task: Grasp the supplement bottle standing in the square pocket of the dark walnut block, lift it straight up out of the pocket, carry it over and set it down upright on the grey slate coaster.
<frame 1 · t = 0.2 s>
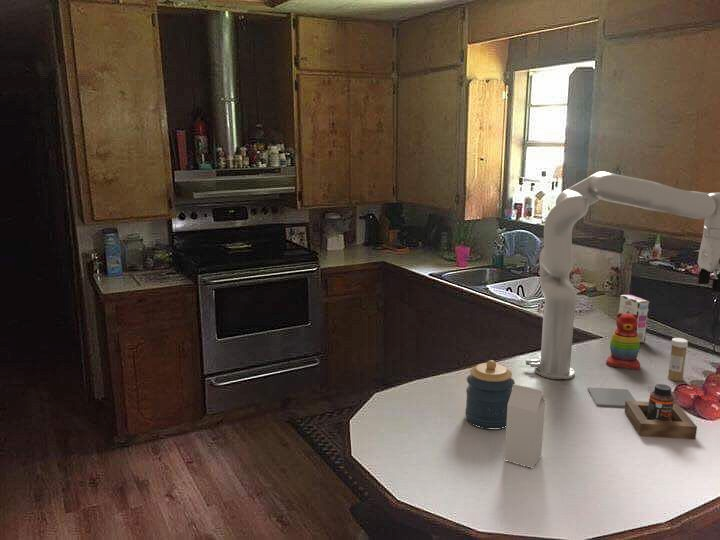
hand: (710, 287, 190), 31 cm above the counter, tool pointing down, fingers open, 9 cm apart
sprinkles bottle: (675, 379, 198), on the counter
supplement bottle: (658, 425, 168), resting in pocket block
canister: (488, 420, 171), on the counter
milk carton: (522, 459, 151), on the counter
candy bar box: (630, 339, 236), on the counter
stacking bear: (622, 363, 212), on the counter
pocket block: (658, 424, 168), on the counter
slate coaster: (612, 398, 184), on the counter
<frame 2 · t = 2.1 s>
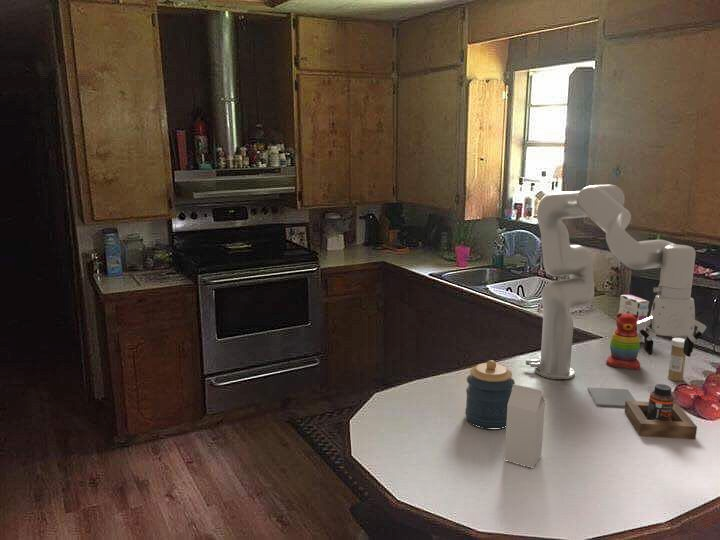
hand: (667, 354, 163), 21 cm above the counter, tool pointing down, fingers open, 9 cm apart
nothing on the counter moved.
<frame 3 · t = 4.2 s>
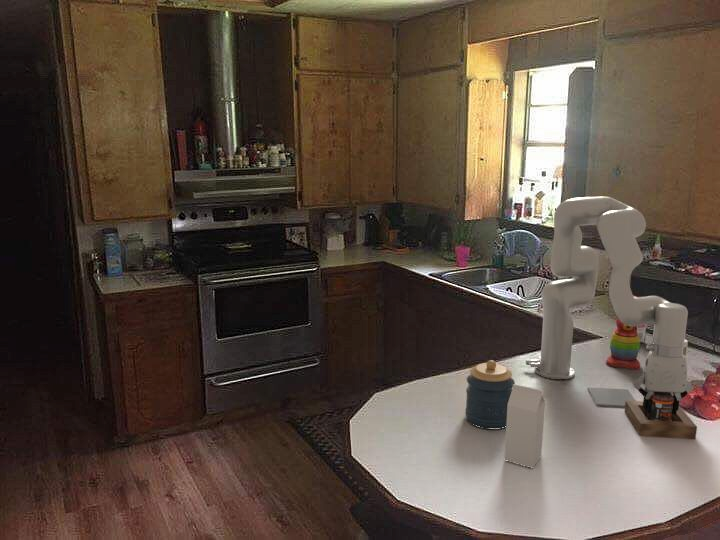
hand: (660, 411, 167), 4 cm above the counter, tool pointing down, fingers closed on supplement bottle, 6 cm apart
supplement bottle: (658, 425, 168), resting in pocket block, touching gripper
everything else where it was.
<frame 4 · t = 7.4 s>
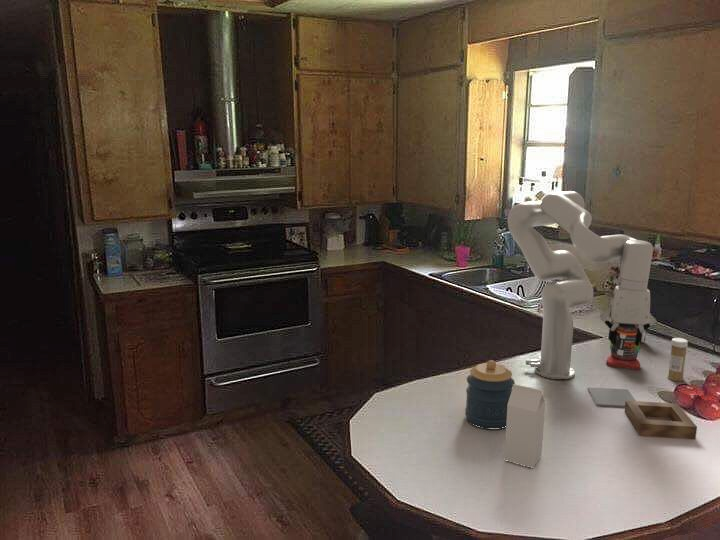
hand: (624, 342, 178), 19 cm above the counter, tool pointing down, fingers closed on supplement bottle, 6 cm apart
supplement bottle: (622, 356, 179), point 14 cm above the counter, touching gripper
everything else where it was.
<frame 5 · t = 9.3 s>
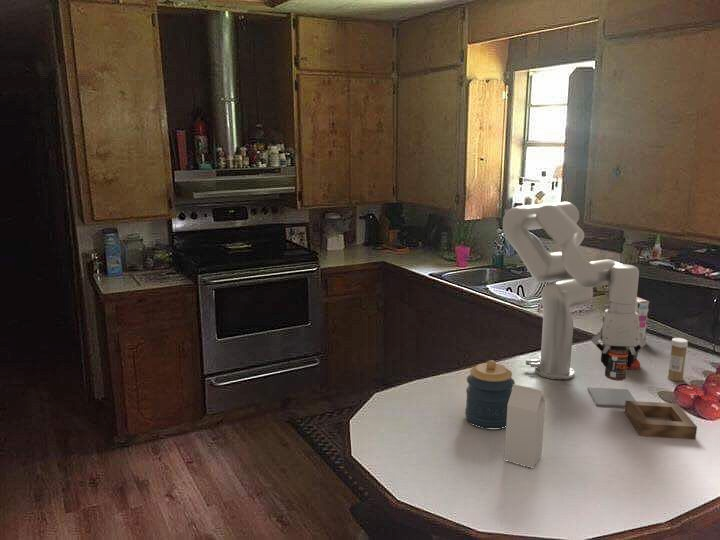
hand: (616, 364, 182), 11 cm above the counter, tool pointing down, fingers closed on supplement bottle, 6 cm apart
supplement bottle: (615, 378, 183), point 7 cm above the counter, touching gripper
everything else where it was.
when the fingers open (6 cm above the counter, at t = 10.8 s): supplement bottle stays where it is, resting on slate coaster.
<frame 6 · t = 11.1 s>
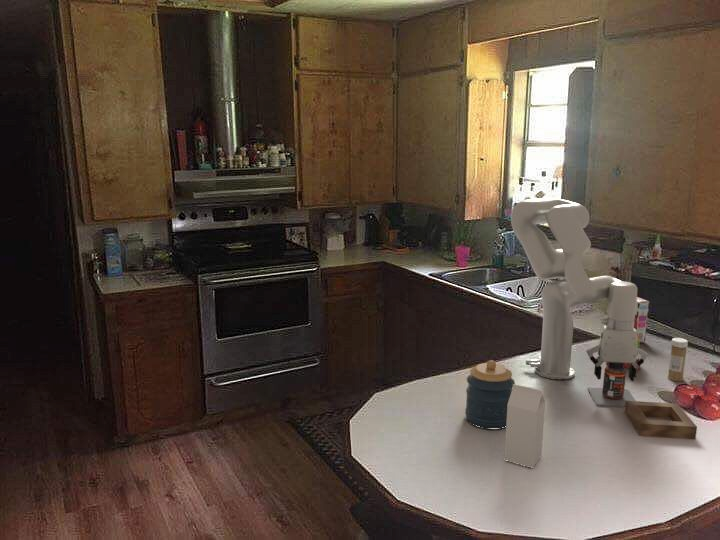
hand: (614, 378, 183), 6 cm above the counter, tool pointing down, fingers open, 9 cm apart
supplement bottle: (612, 396, 184), resting on slate coaster
everything else where it was.
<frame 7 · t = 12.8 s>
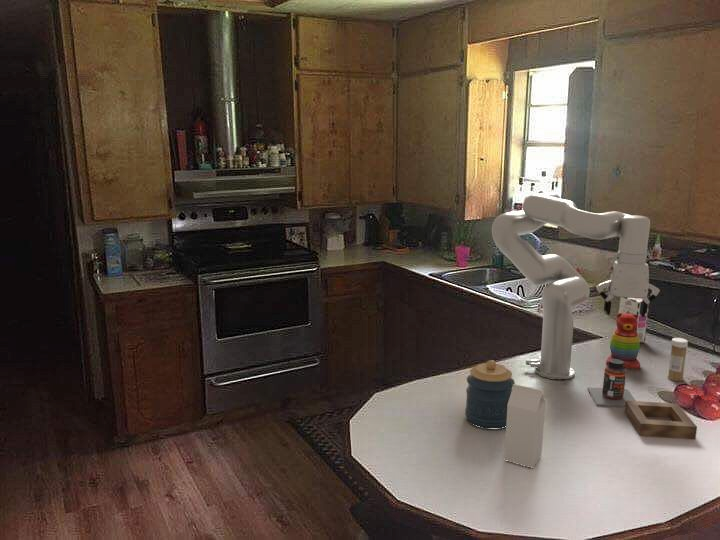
hand: (624, 314, 181), 26 cm above the counter, tool pointing down, fingers open, 9 cm apart
nothing on the counter moved.
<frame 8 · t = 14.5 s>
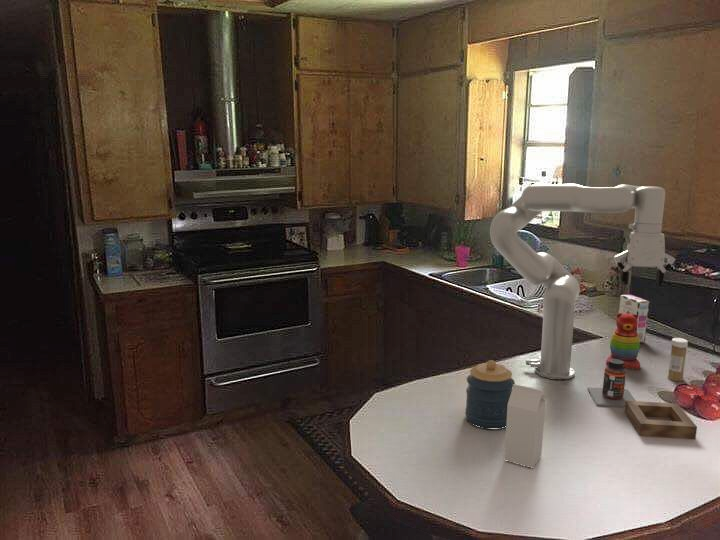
hand: (641, 284, 185), 33 cm above the counter, tool pointing down, fingers open, 9 cm apart
nothing on the counter moved.
at the end: supplement bottle 0.2 cm from the slate coaster (horizontally); supplement bottle tilted 0°; supplement bottle resting on slate coaster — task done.
